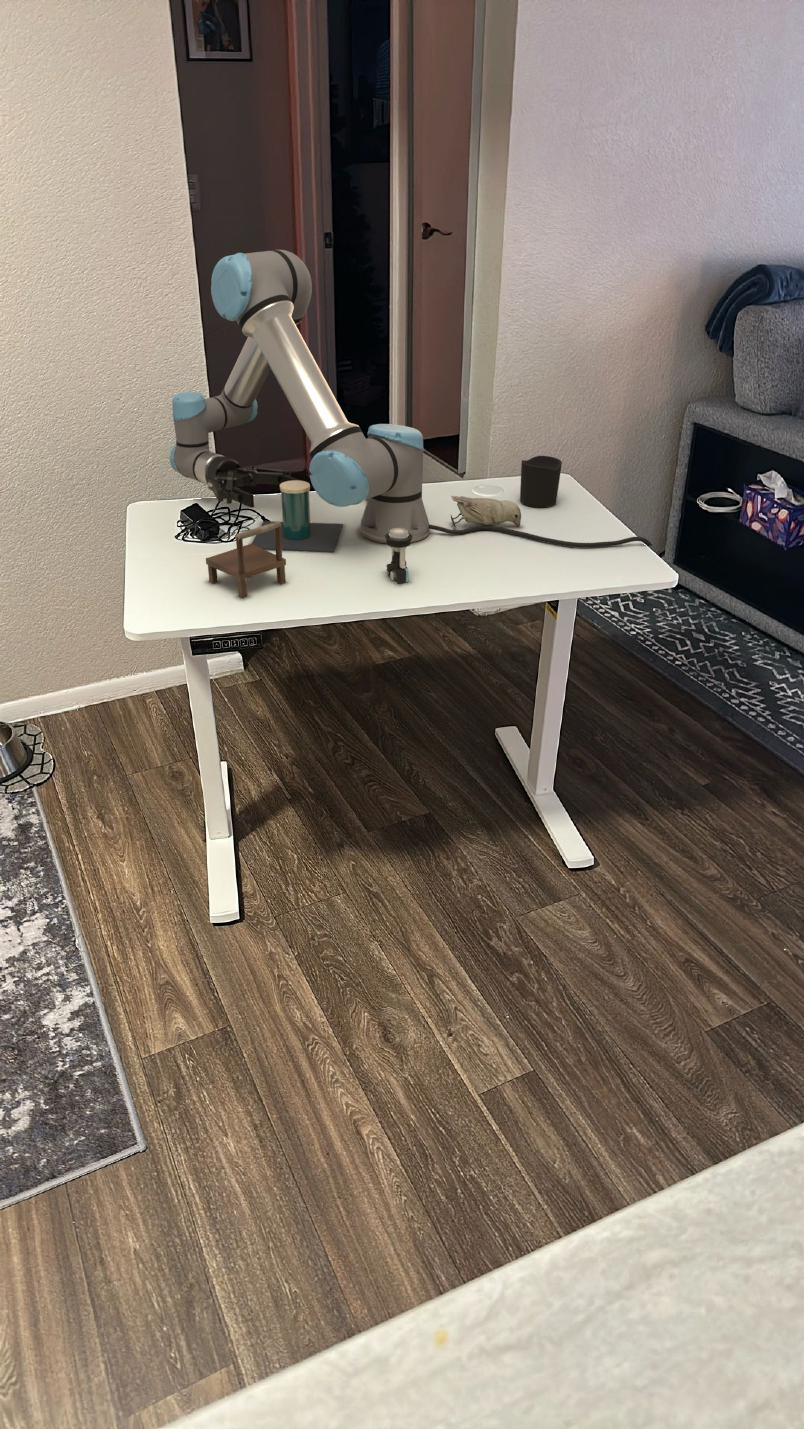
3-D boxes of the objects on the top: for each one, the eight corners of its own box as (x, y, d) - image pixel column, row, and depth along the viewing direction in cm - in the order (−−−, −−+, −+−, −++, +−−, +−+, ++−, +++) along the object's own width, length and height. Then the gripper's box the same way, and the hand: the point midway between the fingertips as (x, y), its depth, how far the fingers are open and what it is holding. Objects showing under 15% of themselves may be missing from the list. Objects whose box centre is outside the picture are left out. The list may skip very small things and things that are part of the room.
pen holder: (559, 509, 225) (564, 467, 220) (520, 508, 225) (523, 467, 220) (554, 496, 233) (559, 455, 228) (516, 495, 233) (519, 455, 228)
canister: (313, 530, 210) (311, 480, 204) (309, 541, 205) (307, 490, 199) (285, 529, 211) (282, 479, 205) (280, 540, 205) (277, 489, 199)
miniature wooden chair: (207, 582, 187) (201, 520, 180) (252, 566, 193) (248, 507, 187) (242, 599, 180) (237, 536, 174) (287, 582, 187) (283, 521, 180)
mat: (342, 525, 214) (342, 523, 214) (334, 552, 201) (333, 550, 200) (263, 522, 215) (263, 521, 215) (249, 549, 201) (249, 547, 201)
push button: (376, 574, 191) (376, 527, 186) (398, 569, 193) (399, 522, 188) (394, 586, 186) (394, 538, 181) (416, 580, 189) (417, 532, 183)
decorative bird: (522, 531, 213) (524, 498, 209) (450, 532, 212) (452, 500, 208) (517, 522, 217) (520, 490, 213) (448, 523, 216) (449, 491, 212)
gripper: (262, 476, 229) (320, 497, 217) (175, 500, 214) (232, 524, 202) (260, 445, 225) (319, 465, 213) (171, 467, 210) (229, 490, 198)
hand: (277, 494), depth 207 cm, fingers open, 13 cm apart
